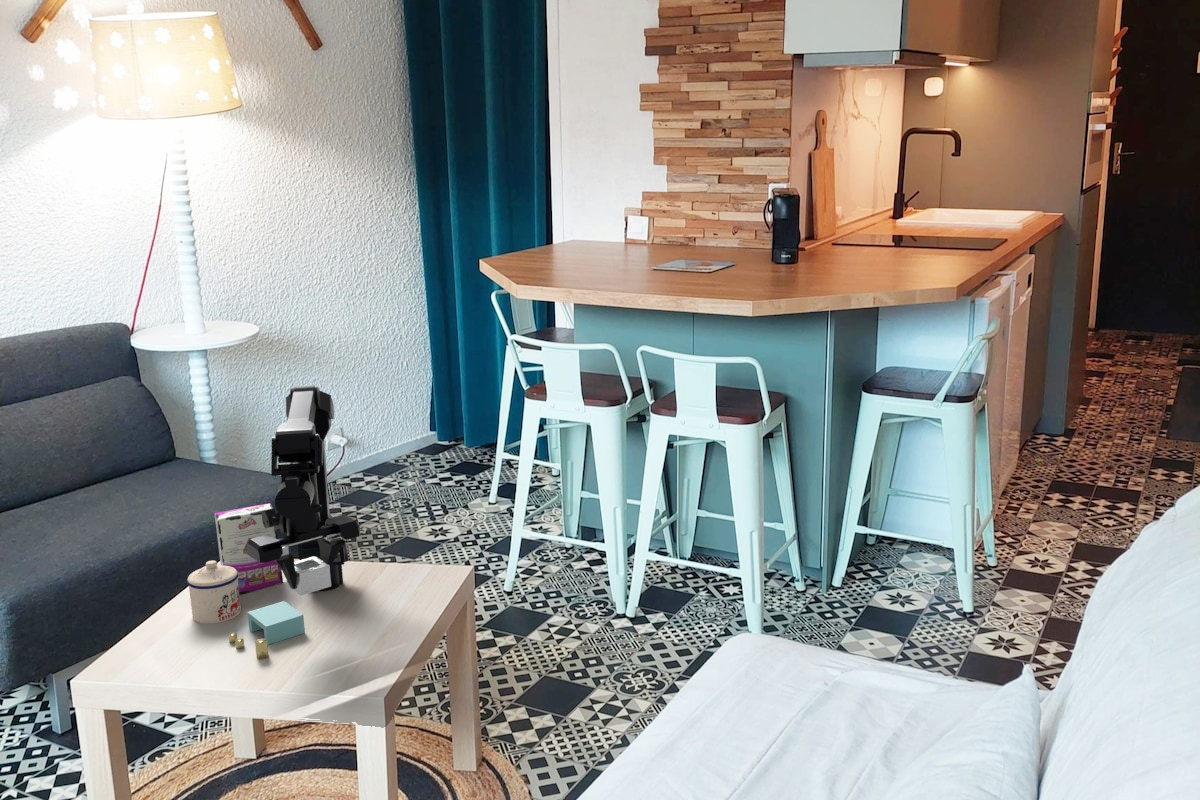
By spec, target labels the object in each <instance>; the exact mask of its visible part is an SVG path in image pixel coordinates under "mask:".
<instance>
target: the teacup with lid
mask: <svg viewBox="0 0 1200 800" xmlns="http://www.w3.org/2000/svg"><path fill="white" fill-rule="evenodd" d="M186 583H187V585H188V590H189V591H188V592H189V597H190V598H189V599H190V606H191V615H192V619H193V620H194V621H195V622H197V623H200V624H216V623H217V624H218V623H223V622H226V621H229V620H231V619H234V618H236V617H237V616H238V615H239V614H240V613H241V611H242V607H241V600H240V599H241V598H240V594H239V587H238V572H237V570H236V569H235V568H233V567H230V566H224V565H221V564H219V563H218V562H217V561H216V560H208V561H206V563H205V566H203V567H201V568H199V569H196V570H195V571H194V570H193V572H191V573H190V574H189V575H188V577H187V581H186Z"/></svg>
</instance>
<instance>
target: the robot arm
mask: <svg viewBox="0 0 1200 800" xmlns="http://www.w3.org/2000/svg"><path fill="white" fill-rule="evenodd" d="M289 390H290V391H289V394H288V395H287V396H286V397H285V417H286V418H287V419H286V421H285V422H283V423H281V424H279V425H278V426H277V427H276V431H275V434H274V435H273V436H272V437H271V456H270V457H271V465H270V466H271V469H270V471H271V476H272V477H273V476H275V477H276V476H280V478H281V481H280V485H279V487H278V491H277V493H276V495H275V498H274V506H275V508H274V507H273V508H272V509H268V510H264V511H262V521H263V525H264V527H265V528H269V527H273V526H274V529H275V531H277V532H278V531H280V533H281V534H283V535H284V534H286V536H281V537H278V539H276V538H274V537H272V536H271V535H269V534H267V535H263V536H260V537H256V538H252V539H250V540H249V542H248V544H247V554H248V555H249V556H251V557H252V558H254V559H255V560H257V561H258V562H260V563H266V562H269V561H275V562H276V563H278V564H279V566H280V567H281V569H282V574H283V575H284V578H285V579H286V582H287V581H288V583H289V585H290V587H291V588H292V590H293V589H295V585H296V578H295V564H294V562H295V556H294V555H292V554H290V549H289V548H292V547H296V546H297V553H298V561H299V560H303V559H306V558H310V557H313V556H316V557H317V558H319V559H320V560H322V561H324V562H325V563H327V564H329V566H330V577H331V587H328V588H324V589H321V590H318V591H314V592H313V593H317V592H327V591H332V590H335V589H337V588H339V587H340V585H343V584H344V575H343V566H344V565H345V563H347V562H349V560H350V559H349V551H348V550H349V549H348V545H347V542H346V541H347V540H352V539H355V538H358V537H360V536H361V526H360V523H359V522H358V521H357V520H355V519H354V518H352V517H350V516H348V515H346V514H341V515H337V516H332V514H331V513H330V503H329V488H328V487H329V486H328V475H327V473H328V472H327V460H326V459H327V458H326V457H327V456H326V446H325V439H326V437H327V435H328V433H329V431H330V429H331V427H332V420H334V419H335V408H334V407H335V406H334V400H333V397H332V395H331V394H329V393H326V392H325V391H322V390H320V388H319V387H318V386H315V385H306V386H294V387H292V388H290V389H289ZM278 463H279V464H278ZM276 511H277V512H276ZM290 587H289V588H290ZM291 588H290V589H291Z"/></svg>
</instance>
